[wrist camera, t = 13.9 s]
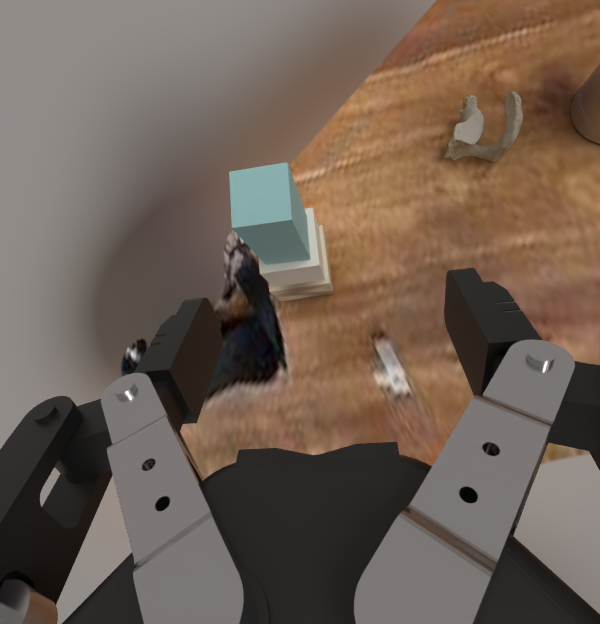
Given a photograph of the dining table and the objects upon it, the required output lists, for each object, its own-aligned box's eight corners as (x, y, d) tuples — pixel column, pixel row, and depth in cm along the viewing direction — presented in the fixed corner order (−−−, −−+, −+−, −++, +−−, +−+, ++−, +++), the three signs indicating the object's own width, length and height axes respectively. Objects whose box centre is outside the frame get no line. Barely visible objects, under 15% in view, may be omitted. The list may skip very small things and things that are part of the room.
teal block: (307, 216, 38) (287, 162, 28) (310, 259, 37) (291, 219, 27) (263, 222, 38) (229, 171, 28) (265, 265, 37) (232, 228, 28)
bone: (418, 130, 48) (479, 58, 39) (451, 124, 51) (513, 55, 42) (453, 186, 47) (523, 125, 38) (484, 176, 50) (556, 117, 41)
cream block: (319, 229, 43) (312, 207, 38) (325, 279, 42) (319, 265, 37) (269, 237, 44) (254, 217, 38) (273, 287, 43) (259, 273, 37)
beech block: (327, 242, 49) (322, 224, 43) (333, 293, 48) (329, 283, 42) (275, 250, 50) (263, 234, 44) (280, 301, 49) (269, 291, 43)
